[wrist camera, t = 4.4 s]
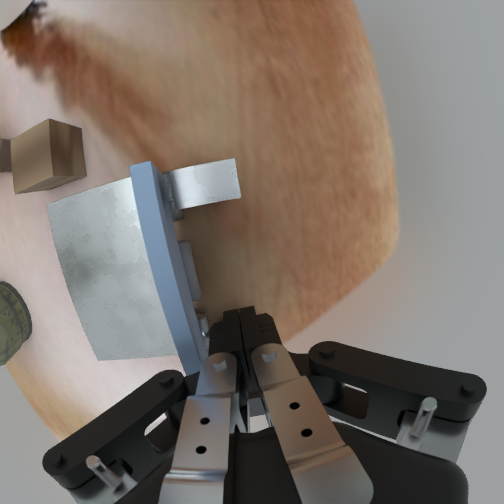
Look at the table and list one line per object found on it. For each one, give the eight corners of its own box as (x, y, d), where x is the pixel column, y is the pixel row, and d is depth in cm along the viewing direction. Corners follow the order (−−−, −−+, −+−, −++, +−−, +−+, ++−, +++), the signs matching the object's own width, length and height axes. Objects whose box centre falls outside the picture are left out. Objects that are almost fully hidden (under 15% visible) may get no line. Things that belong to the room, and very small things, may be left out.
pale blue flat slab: (129, 165, 8) (175, 155, 9) (157, 181, 21) (176, 177, 22) (223, 455, 13) (250, 449, 13) (197, 345, 26) (214, 341, 26)
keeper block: (45, 145, 20) (10, 140, 14) (81, 128, 20) (48, 118, 15) (50, 189, 21) (14, 194, 16) (86, 175, 22) (53, 176, 16)
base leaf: (51, 203, 22) (-31, 223, 10) (227, 156, 23) (229, 130, 11) (101, 355, 26) (61, 426, 15) (259, 336, 27) (280, 422, 16)
